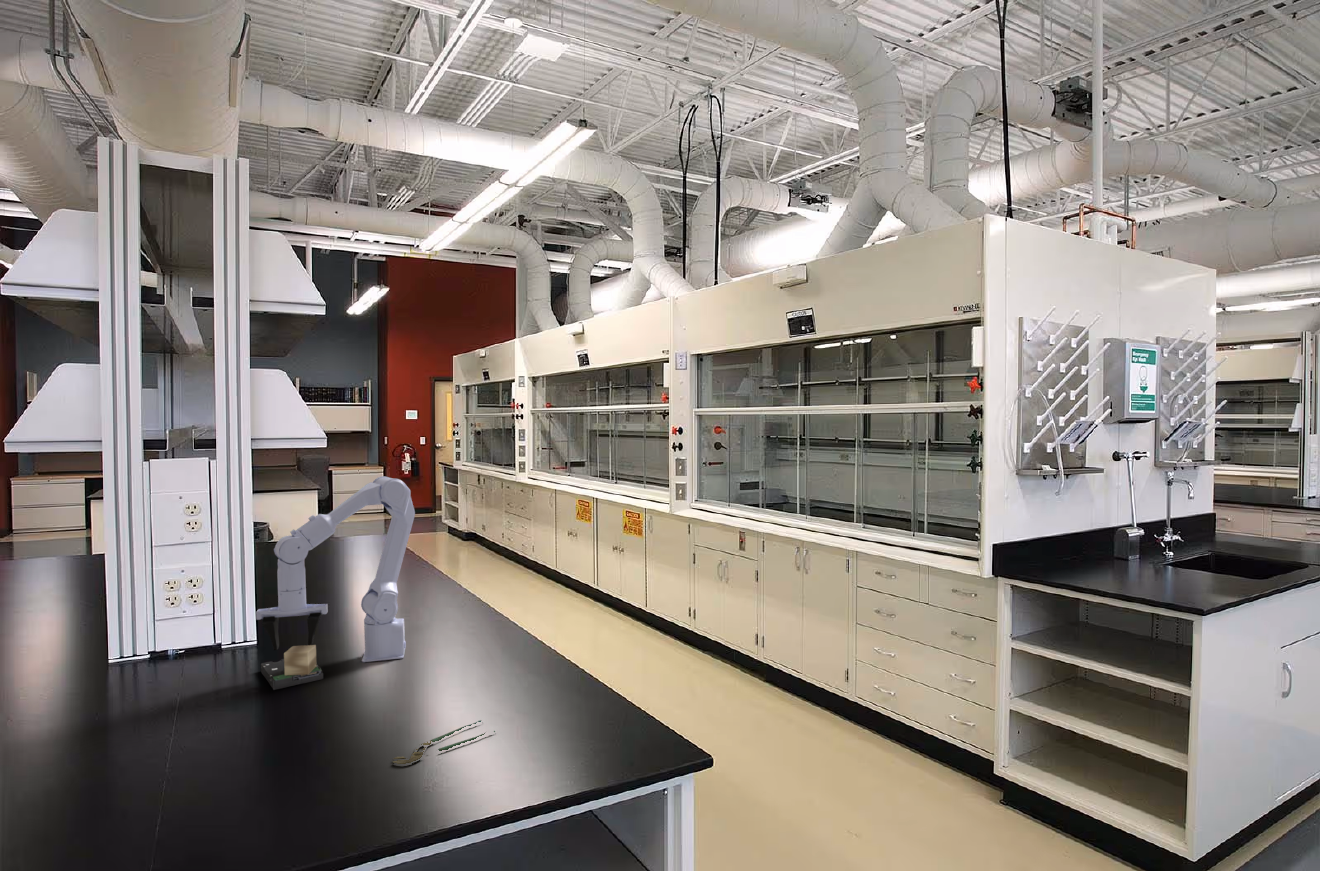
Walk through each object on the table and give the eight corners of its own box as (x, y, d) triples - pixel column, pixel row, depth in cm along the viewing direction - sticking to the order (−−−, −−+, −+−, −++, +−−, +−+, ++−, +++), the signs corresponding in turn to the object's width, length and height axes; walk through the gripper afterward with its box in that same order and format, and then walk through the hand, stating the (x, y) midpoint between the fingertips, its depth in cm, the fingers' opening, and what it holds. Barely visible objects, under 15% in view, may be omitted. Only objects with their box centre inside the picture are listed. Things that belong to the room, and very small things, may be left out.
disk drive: (259, 675, 168) (273, 693, 156) (259, 663, 168) (273, 680, 156) (307, 664, 174) (324, 681, 163) (307, 653, 174) (324, 669, 163)
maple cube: (316, 666, 165) (315, 644, 165) (308, 674, 160) (307, 652, 160) (293, 667, 165) (293, 645, 165) (284, 675, 160) (284, 653, 160)
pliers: (481, 725, 139) (481, 718, 139) (501, 734, 134) (500, 727, 134) (383, 760, 125) (383, 753, 125) (401, 772, 120) (400, 765, 120)
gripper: (329, 582, 171) (330, 638, 171) (260, 587, 167) (262, 645, 167) (324, 589, 164) (325, 648, 164) (253, 594, 160) (255, 654, 160)
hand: (293, 647), depth 165 cm, fingers open, 7 cm apart
